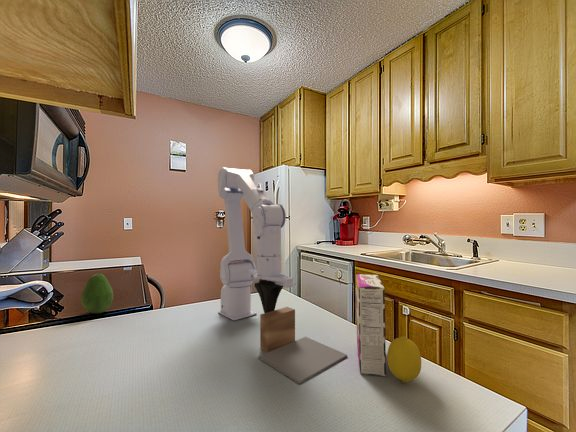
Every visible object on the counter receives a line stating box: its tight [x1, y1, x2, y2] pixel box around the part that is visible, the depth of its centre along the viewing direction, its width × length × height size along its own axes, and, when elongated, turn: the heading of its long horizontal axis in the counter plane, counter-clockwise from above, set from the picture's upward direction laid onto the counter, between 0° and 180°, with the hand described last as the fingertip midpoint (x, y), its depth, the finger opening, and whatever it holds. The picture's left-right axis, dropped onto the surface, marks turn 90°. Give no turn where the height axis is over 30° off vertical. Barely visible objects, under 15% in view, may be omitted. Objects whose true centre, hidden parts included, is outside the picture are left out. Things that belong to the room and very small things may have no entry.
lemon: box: [386, 335, 422, 383], centre depth 48 cm, size 6×6×8 cm
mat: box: [257, 336, 348, 385], centre depth 57 cm, size 12×14×1 cm
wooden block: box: [259, 306, 296, 353], centre depth 63 cm, size 3×8×8 cm, turn 132°
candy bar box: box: [355, 273, 387, 377], centre depth 56 cm, size 11×5×16 cm, turn 168°
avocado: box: [80, 273, 114, 314], centre depth 84 cm, size 8×8×12 cm
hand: (269, 312), depth 65 cm, fingers closed
